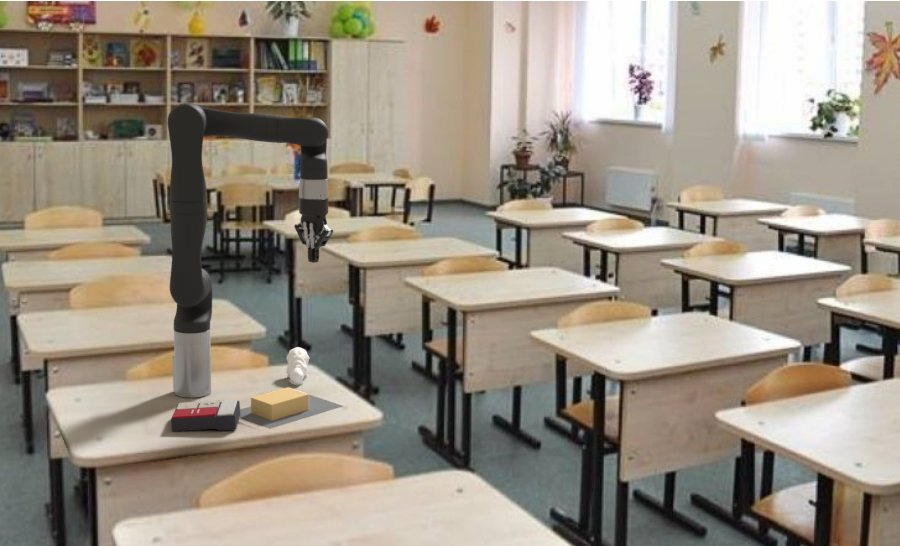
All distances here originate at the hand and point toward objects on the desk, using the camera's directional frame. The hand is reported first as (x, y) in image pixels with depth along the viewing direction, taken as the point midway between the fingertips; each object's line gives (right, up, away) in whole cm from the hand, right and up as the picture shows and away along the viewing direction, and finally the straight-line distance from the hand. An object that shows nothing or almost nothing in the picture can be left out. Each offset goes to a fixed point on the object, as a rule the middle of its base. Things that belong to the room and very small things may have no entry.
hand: (313, 261), depth 277 cm
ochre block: (-3, -35, -8) cm, 36 cm away
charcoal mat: (-5, -38, -10) cm, 39 cm away
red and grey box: (-23, -39, -21) cm, 50 cm away
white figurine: (-6, -33, +14) cm, 37 cm away
